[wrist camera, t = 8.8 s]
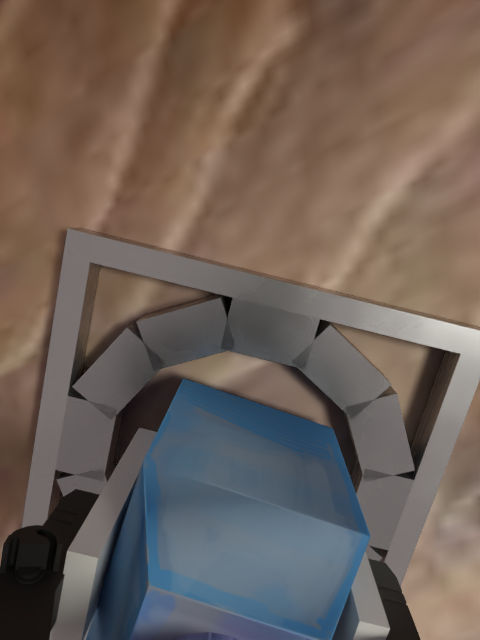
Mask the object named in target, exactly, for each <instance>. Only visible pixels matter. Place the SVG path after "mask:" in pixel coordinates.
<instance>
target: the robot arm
mask: <svg viewBox="0 0 480 640" xmlns="http://www.w3.org/2000/svg"><path fill="white" fill-rule="evenodd" d="M156 434H157V432H155V431H151V430H147V429H143V428H139V429H138V430H137V432H136V434H135V435H134V437H133V439H132V441H131V442H130V444H129V446H128V447H127V449H126V451H125V453H124V454H123V456H122V458H121V459H120V461H119V463H118V465H117V466H116V468H115V470H114V471H113V473H112V475H111V477H110V478H109V480H108V482H107V483H106V485H105V487H104V489H103V490H102V492H101V494H100V495H99V494H95V493H91V492H87V491H83V490H78V489H75V490H73V491H72V492H70V493H69V494H67V495H65V496H64V497H63V498H62V499H61V500H60V502H59V503H58V505H57V506H56V507H55V509H54V511H53V512H52V513H51V514H50V516H49V517H48V520H46V521H45V523H44V524H43V526H41V525H33V526H26V527H23V528H21V529H18V530H16V531H15V532H13V533H12V534H11V535H9V536H8V538H7V539H6V541H5V543H4V545H3V552H2V559H1V566H0V640H49V639H50V632H51V630H52V628H53V632H52V637H51V640H84V637H85V635H86V633H87V630H88V628H89V625H90V623H91V621H92V618H93V616H94V614H95V611H96V609H97V605H98V601H99V597H100V594H101V591H102V588H103V584H104V581H105V578H106V575H107V572H108V569H109V566H110V563H111V560H112V556H113V553H114V550H115V547H116V544H117V541H118V538H119V535H120V532H121V528H122V525H123V522H124V519H125V516H126V513H127V510H128V507H129V503H130V500H131V497H132V494H133V491H134V488H135V485H136V482H137V479H138V475H139V472H140V469H141V466H142V463H143V460H144V458H145V456H146V454H147V452H148V450H149V448H150V446H151V444H152V442H153V440H154V438H155V436H156ZM332 640H420V637H419V635H418V632H417V629H416V627H415V624H414V621H413V619H412V616H411V614H410V611H409V608H408V606H407V605H406V601H405V598H404V595H403V594H402V590H401V587H400V585H399V582H398V580H397V577H396V576H395V574H394V573H393V572H392V570H391V569H390V568H389V567H388V565H387V564H386V563H385V562H381V561H376V560H372V559H368V557H367V554H366V551H365V553H364V556H363V558H362V561H361V564H360V566H359V569H358V571H357V574H356V577H355V579H354V582H353V585H352V587H351V590H350V592H349V595H348V598H347V600H346V603H345V606H344V608H343V611H342V613H341V616H340V619H339V621H338V624H337V626H336V629H335V632H334V634H333V637H332Z"/></svg>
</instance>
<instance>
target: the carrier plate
mask: <svg viewBox="0 0 480 640" xmlns="http://www.w3.org/2000/svg"><path fill="white" fill-rule="evenodd" d="M100 265H103V266H107V267H111V268H115V269H119V270H123V271H127V272H131V273H135V274H139V275H143V276H148V277H152V278H156V279H160V280H164V281H168V282H172V283H176V284H180V285H184V286H188V287H192V288H196V289H200V290H204V291H208V292H212V293H216V294H217V295H213V296H210V297H206V298H203V299H199V300H196V301H192V302H189V303H185V304H182V305H178V306H175V307H171V308H168V309H164V310H161V311H157V312H154V313H150V314H147V315H144V316H143V317H141V318H140V319H139V320H138V321H137V322H136V321H134V322H133V323H132V324H131V325H129V326H128V327H127V328H126V329H125V330H124V331H123V332H122V333H121V334H120V335H119V337H118V338H117V339H116V340H115V341H114V342H113V343H112V344H111V345H110V346H109V347H108V348H107V350H106V351H105V352H104V353H103V354H102V355H101V356H100V357H99V358H98V359H97V360H96V361H95V363H94V364H93V365H92V366H91V367H90V368H89V369H88V370H87V371H86V372H85V373H84V374H83V376H82V377H81V374H82V368H83V363H84V357H85V351H86V345H87V340H88V334H89V328H90V322H91V316H92V311H93V305H94V299H95V293H96V288H97V282H98V276H99V270H100ZM224 296H229V297H233V298H232V302H231V306H230V310H228V307H227V303H226V300H225V297H224ZM320 319H322V320H323V321H322V322H321V323H320V324H319V321H320ZM329 321H330V322H334V323H338V324H342V325H346V326H350V327H354V328H358V329H362V330H366V331H370V332H374V333H378V334H382V335H386V336H390V337H394V338H399V339H403V340H407V341H411V342H415V343H419V344H423V345H427V346H431V347H435V348H439V349H443V350H446V351H445V354H444V356H443V359H442V362H441V365H440V367H439V370H438V373H437V376H436V379H435V381H434V384H433V387H432V390H431V392H430V395H429V398H428V401H427V404H426V406H425V409H424V412H423V415H422V418H421V420H420V423H419V426H418V429H417V431H416V434H415V437H414V440H413V443H412V445H411V448H410V447H409V443H408V439H407V434H406V430H405V426H404V422H403V417H402V413H401V409H400V405H399V400H398V396H397V393H396V392H395V391H394V389H393V388H392V387H391V386H390V385H391V383H390V382H389V381H388V379H387V378H386V377H385V376H384V374H383V373H382V372H381V371H380V370H379V369H378V368H376V367H375V366H374V365H373V364H372V363H371V362H370V361H369V360H368V359H367V358H366V357H365V356H364V355H363V354H362V353H361V352H360V351H359V350H358V349H357V348H356V347H355V346H354V345H353V344H352V343H351V342H350V341H349V340H348V339H347V338H346V337H345V336H344V335H343V334H342V333H341V332H339V331H338V330H337V329H336V328H335V327H334V326H333V325H332V324H331V323H330V322H329ZM318 324H319V325H318ZM225 351H232V352H236V353H240V354H245V355H249V356H253V357H257V358H261V359H265V360H269V361H273V362H277V363H281V364H285V365H289V366H293V367H297V368H298V369H299V370H301V371H302V372H303V373H304V374H305V375H306V376H307V377H308V378H309V379H310V380H311V381H312V382H313V383H314V384H315V385H316V386H318V387H319V388H320V389H321V390H322V391H323V392H324V393H325V394H326V395H327V396H328V397H329V398H330V399H331V400H332V401H333V402H334V403H336V404H337V405H338V406H339V407H340V408H341V409H342V410H343V411H344V414H345V418H346V422H347V426H348V429H349V433H350V437H351V441H352V445H353V449H354V452H355V456H356V462H355V465H354V468H353V471H352V474H351V477H350V478H351V481H352V484H353V487H354V490H355V493H356V495H357V498H358V501H359V504H360V507H361V510H362V513H363V515H364V518H365V521H366V524H367V527H368V530H369V533H370V535H371V537H370V540H369V543H368V545H367V548H366V550H365V551H366V554H367V557H368V559H372V560H376V561H381V562H385V563H386V564H387V565H388V567H389V568H390V569H391V570H392V572H393V573H394V574H395V576H396V577H397V580H398V582H399V585H400V586H401V584H402V581H403V578H404V576H405V573H406V571H407V568H408V565H409V563H410V560H411V558H412V555H413V552H414V550H415V547H416V545H417V542H418V539H419V537H420V534H421V532H422V529H423V526H424V524H425V521H426V518H427V516H428V513H429V511H430V508H431V505H432V503H433V500H434V498H435V495H436V492H437V490H438V487H439V485H440V482H441V479H442V477H443V474H444V471H445V469H446V466H447V464H448V461H449V458H450V456H451V453H452V451H453V448H454V445H455V443H456V440H457V438H458V435H459V432H460V430H461V427H462V424H463V422H464V419H465V417H466V414H467V411H468V409H469V406H470V404H471V401H472V398H473V396H474V393H475V391H476V388H477V385H478V383H479V380H480V327H478V326H474V325H470V324H466V323H462V322H458V321H454V320H450V319H446V318H442V317H437V316H433V315H429V314H425V313H421V312H417V311H413V310H409V309H405V308H401V307H397V306H393V305H389V304H385V303H381V302H377V301H373V300H369V299H365V298H361V297H357V296H353V295H349V294H345V293H341V292H337V291H333V290H329V289H325V288H320V287H316V286H312V285H308V284H304V283H300V282H296V281H292V280H288V279H284V278H280V277H276V276H272V275H268V274H264V273H260V272H256V271H252V270H248V269H244V268H240V267H236V266H232V265H228V264H224V263H220V262H216V261H212V260H208V259H203V258H199V257H195V256H191V255H187V254H183V253H179V252H175V251H171V250H167V249H163V248H159V247H155V246H151V245H147V244H143V243H139V242H135V241H131V240H127V239H123V238H119V237H115V236H111V235H107V234H103V233H99V232H95V231H91V230H86V229H82V228H67V235H66V241H65V248H64V254H63V261H62V267H61V274H60V280H59V287H58V293H57V300H56V306H55V313H54V319H53V326H52V332H51V339H50V345H49V352H48V358H47V365H46V371H45V378H44V384H43V391H42V397H41V404H40V410H39V417H38V423H37V430H36V436H35V443H34V449H33V456H32V462H31V469H30V475H29V482H28V488H27V495H26V501H25V508H24V514H23V521H22V527H21V528H23V527H26V526H33V525H41V526H43V524H44V523H45V521H46V520H48V517H49V516H50V514H51V513H52V512H53V511H54V509H55V507H56V506H57V505H58V503H59V501H60V496H61V492H62V494H63V497H64V496H65V495H67V494H69V493H70V492H72V491H73V490H75V489H78V490H83V491H87V492H91V493H95V494H99V495H100V494H101V492H102V490H103V489H104V487H105V485H106V483H107V482H108V480H109V478H110V477H111V475H112V473H113V471H114V470H115V468H116V464H115V461H114V456H115V451H116V446H117V441H118V436H119V431H120V426H121V421H122V416H123V411H124V407H125V406H126V405H127V403H128V402H129V401H130V400H131V399H132V398H133V397H134V396H135V395H136V394H137V393H138V392H139V391H140V390H141V389H142V388H143V387H144V386H145V385H146V384H147V383H148V382H149V381H150V380H151V379H152V378H153V377H154V376H155V374H156V373H157V372H158V371H159V370H160V369H162V368H166V367H169V366H173V365H177V364H180V363H184V362H188V361H191V360H195V359H199V358H202V357H206V356H210V355H213V354H217V353H221V352H225ZM92 619H93V618H92ZM91 622H92V621H91ZM90 625H91V623H90ZM90 625H89V628H90ZM89 628H88V630H87V633H86V635H85V637H84V640H86V637H87V634H88V631H89ZM52 632H53V628H52V630H51V632H50V639H49V640H51V637H52Z"/></svg>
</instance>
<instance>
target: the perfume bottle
mask: <svg viewBox="0 0 480 640" xmlns="http://www.w3.org/2000/svg"><path fill="white" fill-rule="evenodd" d="M370 537H371V535H370V533H369V530H368V527H367V524H366V521H365V518H364V515H363V513H362V510H361V507H360V504H359V501H358V498H357V495H356V493H355V490H354V487H353V484H352V481H351V478H350V476H349V473H348V470H347V467H346V464H345V461H344V458H343V456H342V453H341V450H340V447H339V444H338V441H337V438H336V436H335V433H334V430H333V428H330V427H327V426H324V425H321V424H318V423H315V422H312V421H309V420H306V419H303V418H300V417H297V416H294V415H291V414H288V413H285V412H282V411H279V410H276V409H273V408H270V407H267V406H264V405H262V404H259V403H256V402H253V401H250V400H247V399H244V398H241V397H238V396H235V395H232V394H229V393H226V392H223V391H220V390H217V389H214V388H211V387H208V386H205V385H202V384H199V383H196V382H193V381H190V380H187V379H184V378H183V380H182V382H181V384H180V386H179V388H178V390H177V392H176V395H175V397H174V399H173V401H172V403H171V405H170V407H169V409H168V411H167V413H166V415H165V417H164V419H163V421H162V423H161V425H160V427H159V430H158V432H157V434H156V436H155V438H154V440H153V442H152V444H151V446H150V448H149V450H148V452H147V454H146V456H145V458H144V460H143V463H142V466H141V469H140V472H139V475H138V479H137V482H136V485H135V488H134V491H133V494H132V497H131V500H130V503H129V507H128V510H127V513H126V516H125V519H124V522H123V525H122V528H121V532H120V535H119V538H118V541H117V544H116V547H115V550H114V553H113V556H112V560H111V563H110V566H109V569H108V572H107V575H106V578H105V581H104V584H103V588H102V591H101V594H100V597H99V601H98V605H97V609H96V611H95V614H94V616H93V619H92V622H91V625H90V628H89V631H88V634H87V637H86V640H332V637H333V634H334V632H335V629H336V626H337V624H338V621H339V619H340V616H341V613H342V611H343V608H344V606H345V603H346V600H347V598H348V595H349V592H350V590H351V587H352V585H353V582H354V579H355V577H356V574H357V571H358V569H359V566H360V564H361V561H362V558H363V556H364V553H365V550H366V548H367V545H368V543H369V540H370Z"/></svg>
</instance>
